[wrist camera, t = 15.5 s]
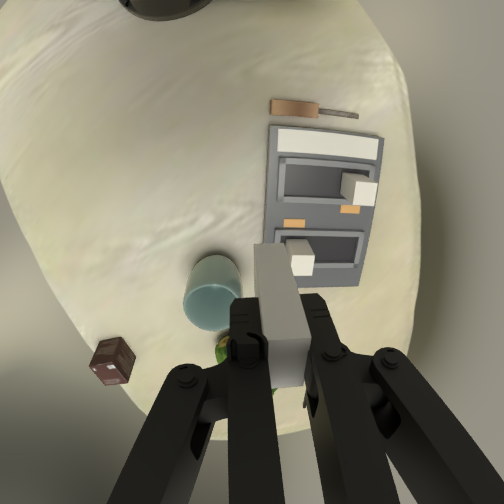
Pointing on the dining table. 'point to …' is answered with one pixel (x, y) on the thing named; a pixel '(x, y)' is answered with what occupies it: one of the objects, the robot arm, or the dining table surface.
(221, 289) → the cup
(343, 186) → the tab
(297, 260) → the tab
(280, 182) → the switch board
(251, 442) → the robot arm
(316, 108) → the screwdriver
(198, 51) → the dining table surface
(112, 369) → the box
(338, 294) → the dining table surface
